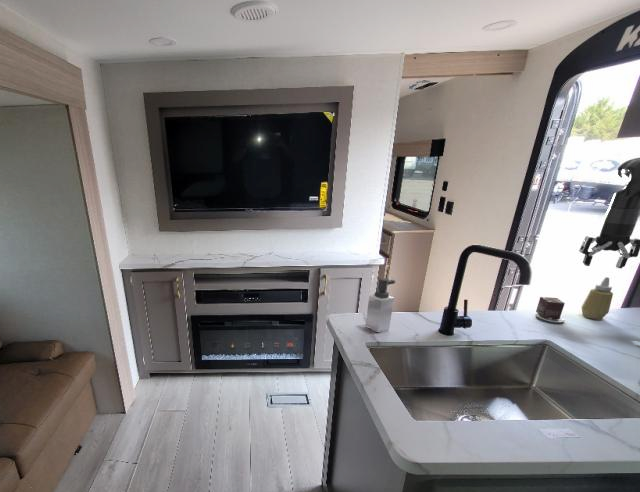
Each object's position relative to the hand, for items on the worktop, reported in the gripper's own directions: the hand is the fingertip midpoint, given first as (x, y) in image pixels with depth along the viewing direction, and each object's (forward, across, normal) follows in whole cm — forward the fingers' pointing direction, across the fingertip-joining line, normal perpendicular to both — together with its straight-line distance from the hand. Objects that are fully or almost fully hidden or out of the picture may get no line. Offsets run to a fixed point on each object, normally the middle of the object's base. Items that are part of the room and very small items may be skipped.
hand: (602, 266), depth 116 cm
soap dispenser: (+28, -70, -20) cm, 78 cm away
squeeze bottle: (+28, +13, +22) cm, 38 cm away
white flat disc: (+28, -4, +13) cm, 31 cm away
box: (+27, -5, +14) cm, 31 cm away
